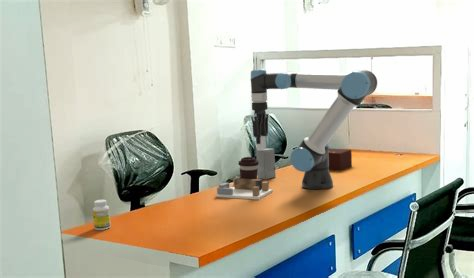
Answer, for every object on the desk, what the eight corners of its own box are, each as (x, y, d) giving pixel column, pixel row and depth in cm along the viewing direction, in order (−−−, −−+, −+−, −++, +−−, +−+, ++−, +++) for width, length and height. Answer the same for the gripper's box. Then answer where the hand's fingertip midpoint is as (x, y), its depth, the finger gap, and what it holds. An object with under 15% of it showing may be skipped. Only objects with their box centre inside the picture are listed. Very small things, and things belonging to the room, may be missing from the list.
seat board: (272, 191, 266) (272, 181, 266) (259, 199, 252) (258, 188, 252) (231, 189, 276) (230, 179, 275) (216, 196, 262) (215, 185, 261)
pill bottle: (95, 226, 221) (93, 199, 219) (111, 225, 221) (109, 198, 220) (93, 231, 214) (90, 203, 213) (109, 230, 215) (107, 202, 214)
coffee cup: (257, 190, 272) (257, 160, 269) (237, 190, 273) (237, 160, 271) (259, 185, 281) (259, 156, 279) (240, 185, 283) (240, 156, 280)
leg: (234, 188, 271) (233, 178, 271) (237, 187, 274) (236, 177, 273) (259, 190, 265) (259, 179, 265) (262, 188, 268) (261, 178, 267)
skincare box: (265, 179, 295) (264, 150, 293) (256, 178, 301) (255, 149, 299) (276, 177, 301) (275, 148, 299) (267, 175, 306) (266, 147, 304)
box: (353, 166, 324) (352, 149, 322) (340, 170, 311) (339, 153, 309) (321, 163, 336) (320, 147, 335) (307, 168, 323) (307, 151, 322)
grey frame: (239, 187, 283) (239, 176, 282) (233, 186, 285) (232, 176, 284) (246, 184, 288) (245, 174, 287) (239, 184, 290) (239, 173, 289)
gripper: (260, 100, 277) (262, 147, 280) (244, 103, 264) (246, 152, 267) (274, 100, 273) (276, 147, 276) (257, 103, 260) (260, 152, 263)
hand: (261, 149), depth 271 cm, fingers open, 3 cm apart
